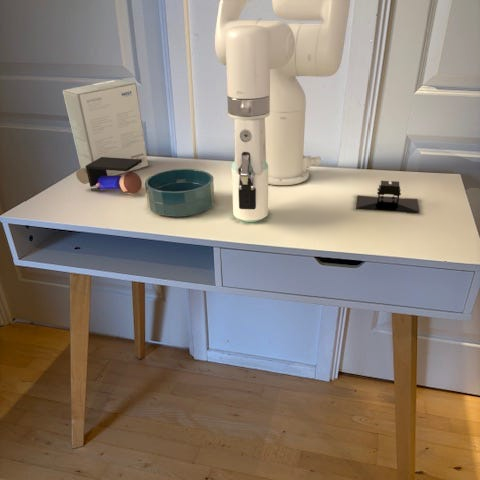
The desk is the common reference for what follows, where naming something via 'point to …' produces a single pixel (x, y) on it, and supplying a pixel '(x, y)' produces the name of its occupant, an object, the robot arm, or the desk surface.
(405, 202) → the build plate
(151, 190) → the bowl
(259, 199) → the can
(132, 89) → the hard drive box
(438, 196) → the desk surface
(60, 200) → the desk surface
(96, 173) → the figurine character
